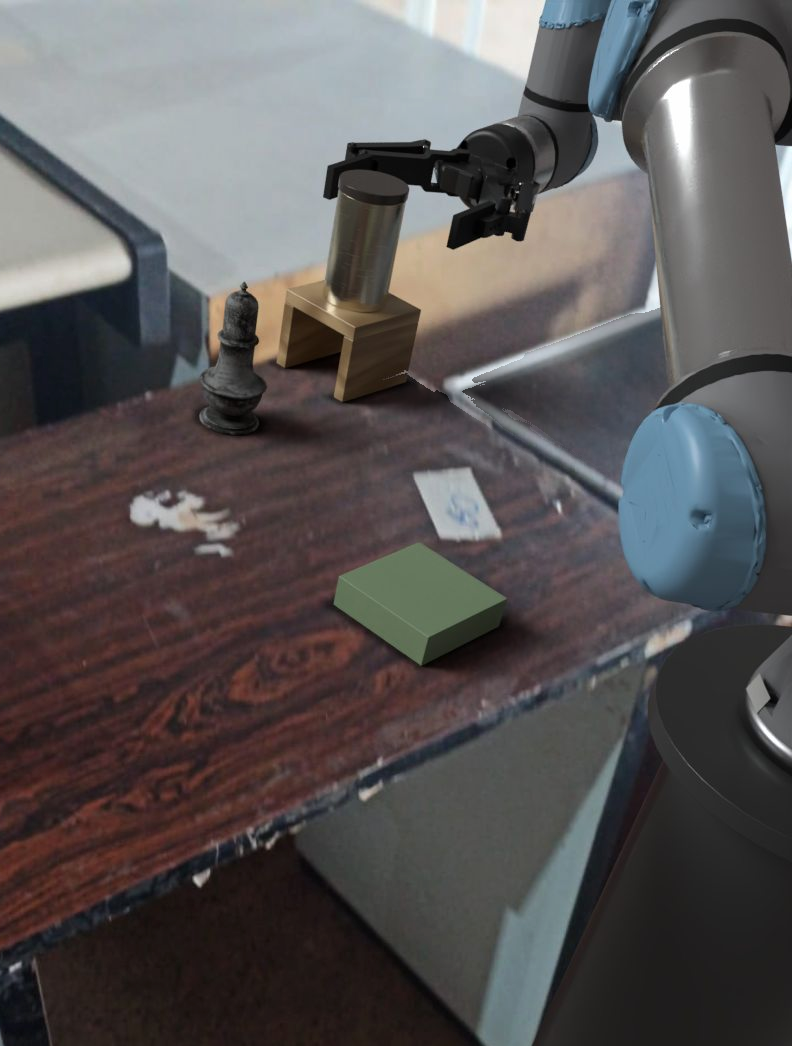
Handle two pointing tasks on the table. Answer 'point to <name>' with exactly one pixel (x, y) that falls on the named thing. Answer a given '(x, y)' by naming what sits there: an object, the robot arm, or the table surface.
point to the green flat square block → (419, 602)
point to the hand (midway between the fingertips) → (389, 207)
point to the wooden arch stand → (349, 339)
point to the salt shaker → (234, 370)
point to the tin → (364, 240)
